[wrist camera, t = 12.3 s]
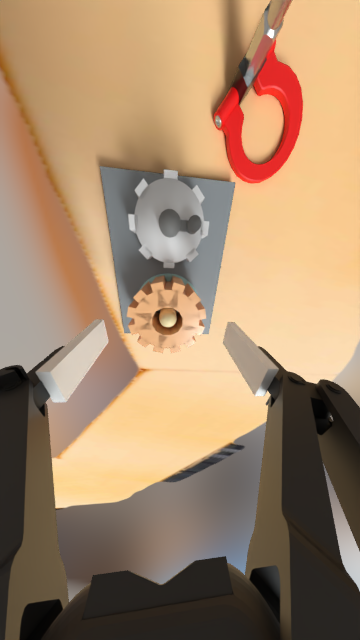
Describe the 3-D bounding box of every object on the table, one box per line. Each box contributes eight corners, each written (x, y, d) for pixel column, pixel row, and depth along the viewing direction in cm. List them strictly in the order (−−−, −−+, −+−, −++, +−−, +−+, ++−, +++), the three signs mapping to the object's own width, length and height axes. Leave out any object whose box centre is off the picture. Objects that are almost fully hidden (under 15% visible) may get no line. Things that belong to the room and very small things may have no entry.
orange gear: (139, 331, 24) (131, 353, 19) (134, 273, 20) (121, 279, 14) (194, 332, 25) (200, 352, 20) (200, 277, 21) (211, 284, 15)
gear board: (104, 171, 16) (57, 110, 9) (231, 186, 17) (270, 143, 11) (126, 330, 25) (110, 355, 19) (207, 331, 27) (219, 355, 20)
